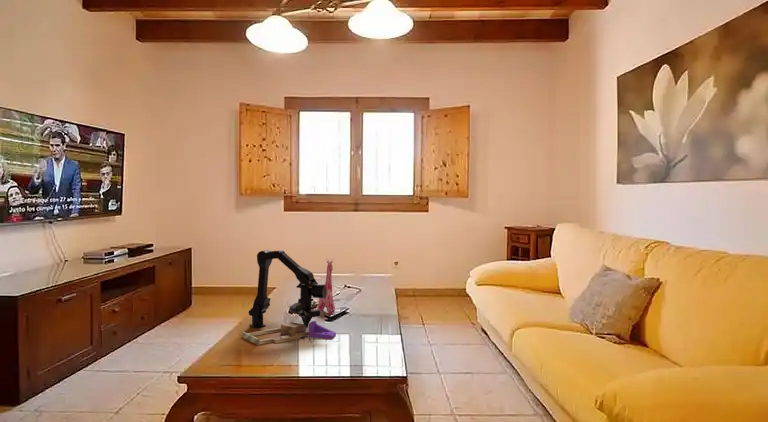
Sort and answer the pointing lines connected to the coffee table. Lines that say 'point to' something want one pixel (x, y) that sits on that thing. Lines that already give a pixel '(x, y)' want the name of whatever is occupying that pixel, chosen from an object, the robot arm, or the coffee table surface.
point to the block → (292, 328)
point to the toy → (328, 300)
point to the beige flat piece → (282, 339)
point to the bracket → (319, 331)
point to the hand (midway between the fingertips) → (305, 327)
